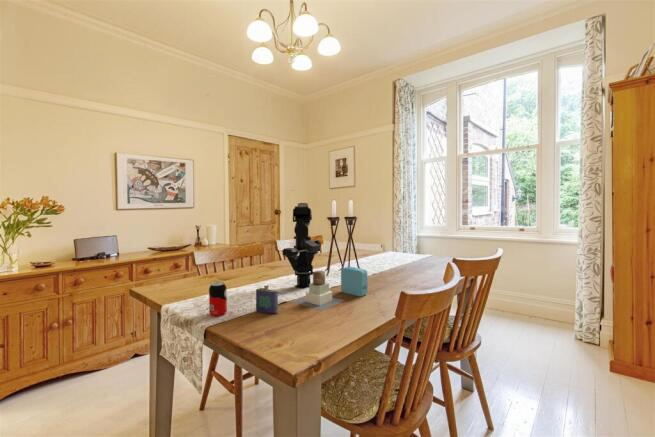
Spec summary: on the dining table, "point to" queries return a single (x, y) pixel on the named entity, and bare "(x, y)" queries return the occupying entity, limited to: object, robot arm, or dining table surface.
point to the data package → (354, 281)
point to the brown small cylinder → (318, 278)
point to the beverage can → (217, 299)
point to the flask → (266, 300)
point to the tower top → (319, 288)
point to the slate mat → (322, 307)
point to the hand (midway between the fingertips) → (302, 269)
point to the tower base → (319, 298)
